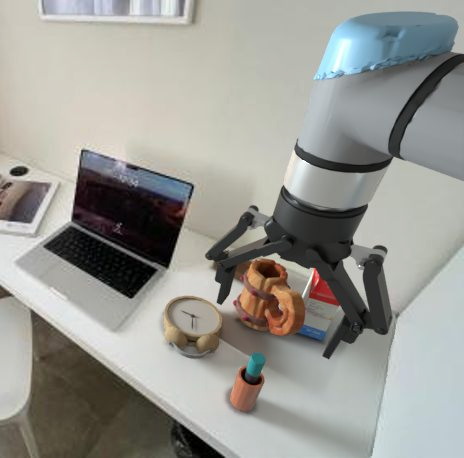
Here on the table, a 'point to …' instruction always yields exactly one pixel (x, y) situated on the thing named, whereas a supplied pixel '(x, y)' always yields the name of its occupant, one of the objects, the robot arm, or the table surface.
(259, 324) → the mug
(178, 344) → the alarm clock
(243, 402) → the pen pot
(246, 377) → the marker
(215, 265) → the pen tray
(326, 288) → the ink box
